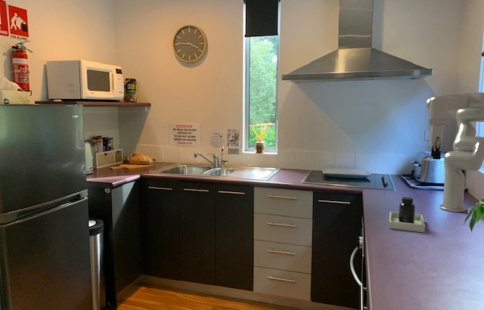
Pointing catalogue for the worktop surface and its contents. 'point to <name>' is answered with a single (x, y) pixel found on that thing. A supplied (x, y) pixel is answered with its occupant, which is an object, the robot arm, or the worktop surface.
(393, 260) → the worktop surface
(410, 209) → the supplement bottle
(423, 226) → the tray
